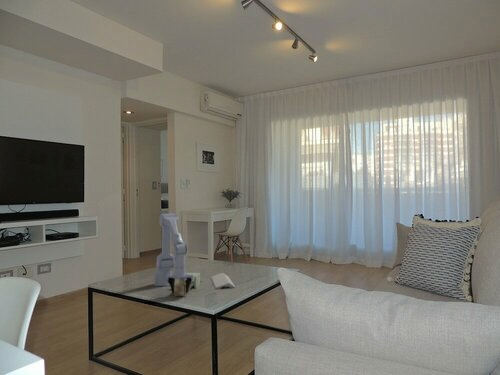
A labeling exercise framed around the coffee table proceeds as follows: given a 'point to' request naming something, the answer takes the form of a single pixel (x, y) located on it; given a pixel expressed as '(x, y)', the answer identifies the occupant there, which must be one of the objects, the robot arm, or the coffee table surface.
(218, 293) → the coffee table surface
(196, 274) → the tunnel
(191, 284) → the rail
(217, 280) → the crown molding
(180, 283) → the brown rectangular box
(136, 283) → the coffee table surface
